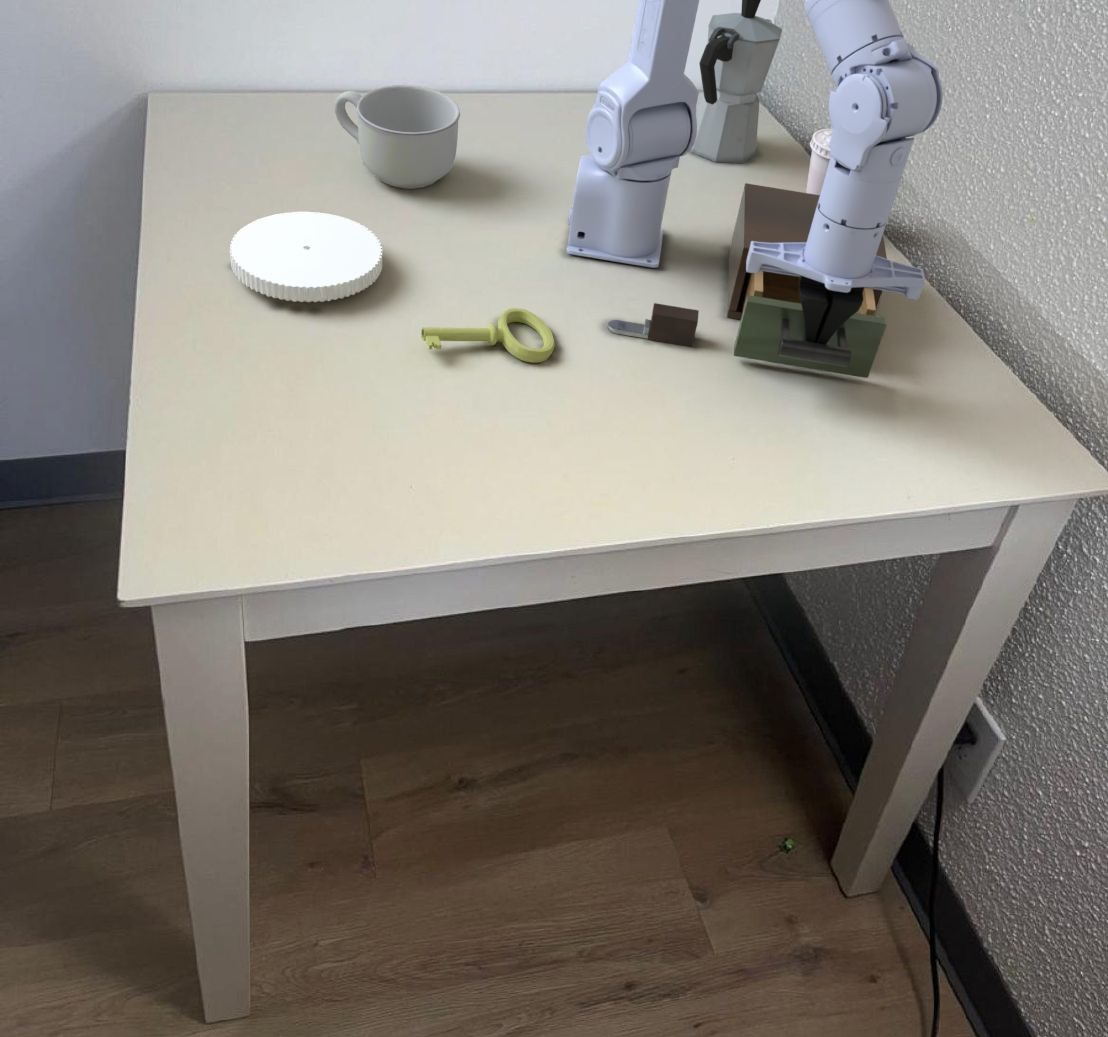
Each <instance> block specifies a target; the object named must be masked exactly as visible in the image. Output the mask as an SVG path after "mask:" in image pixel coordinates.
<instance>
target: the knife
mask: <svg viewBox="0 0 1108 1037" xmlns="http://www.w3.org/2000/svg"><path fill="white" fill-rule="evenodd" d="M699 313H700V312H699V310H698V309H693V308H686V307H681V306H675V305H668V304H662V303H657V302H654V303H653V307H652V311H651V317H650V319H647V318H646V319H645V321H644V324H643V323H638V322H631V321H626V320H619V319H612V320H610V321H609V322H608V323H607V330H608V331H609V332H610V333H613V334H615V335H616V334H617V335H622V336H629V337H634V338H640V339H646V340H649V341H655V342H661V343H666V344H673V345H679V346H685V347H691V348H692V347H693V345H694V341H695V336H696V332H697V328H698V323H699Z"/></svg>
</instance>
